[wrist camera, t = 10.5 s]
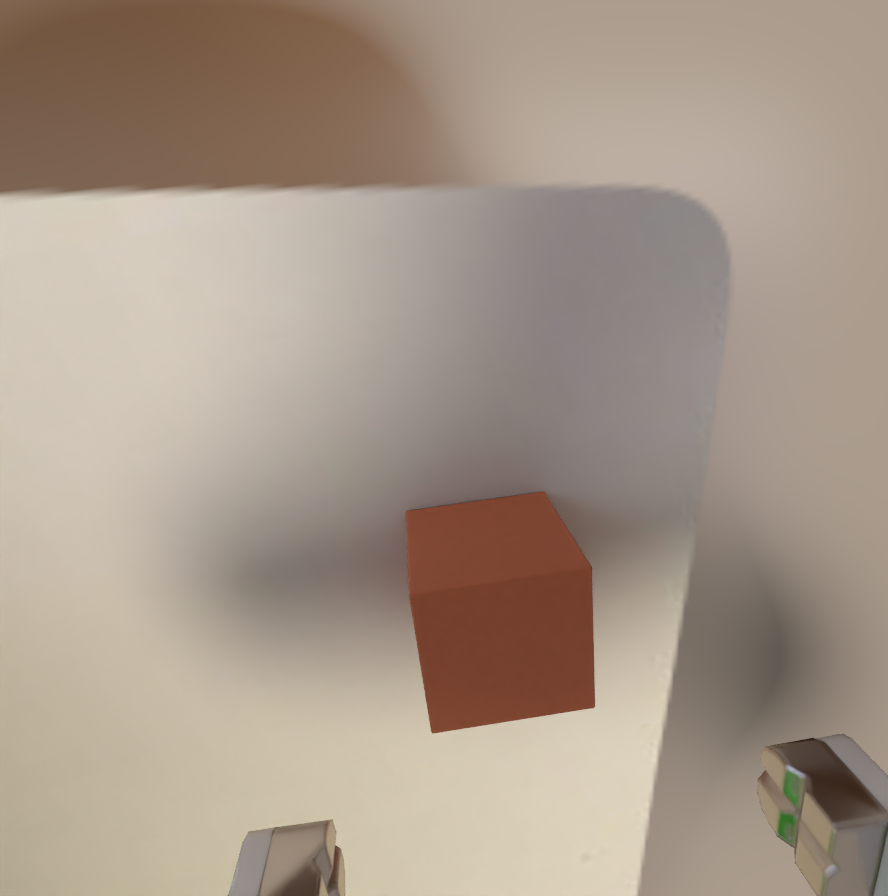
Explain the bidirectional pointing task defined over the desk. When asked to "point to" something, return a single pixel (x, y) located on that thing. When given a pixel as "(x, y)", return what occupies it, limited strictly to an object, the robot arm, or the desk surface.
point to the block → (500, 611)
